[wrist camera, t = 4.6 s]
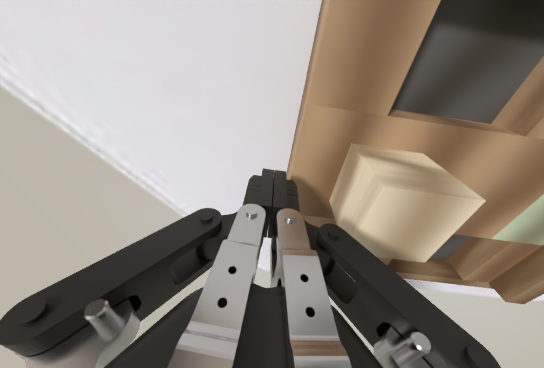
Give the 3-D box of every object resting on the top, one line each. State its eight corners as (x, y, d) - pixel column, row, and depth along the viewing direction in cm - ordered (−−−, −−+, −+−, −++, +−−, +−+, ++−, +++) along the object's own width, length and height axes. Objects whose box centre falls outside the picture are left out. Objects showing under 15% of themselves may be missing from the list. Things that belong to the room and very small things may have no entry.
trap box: (272, 240, 24) (271, 280, 20) (335, -64, 10) (371, -142, 6) (477, 265, 25) (515, 308, 21) (788, 19, 11) (1090, 3, 7)
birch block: (329, 200, 16) (345, 253, 12) (351, 143, 13) (383, 186, 9) (388, 208, 16) (424, 262, 12) (423, 153, 13) (486, 200, 9)
